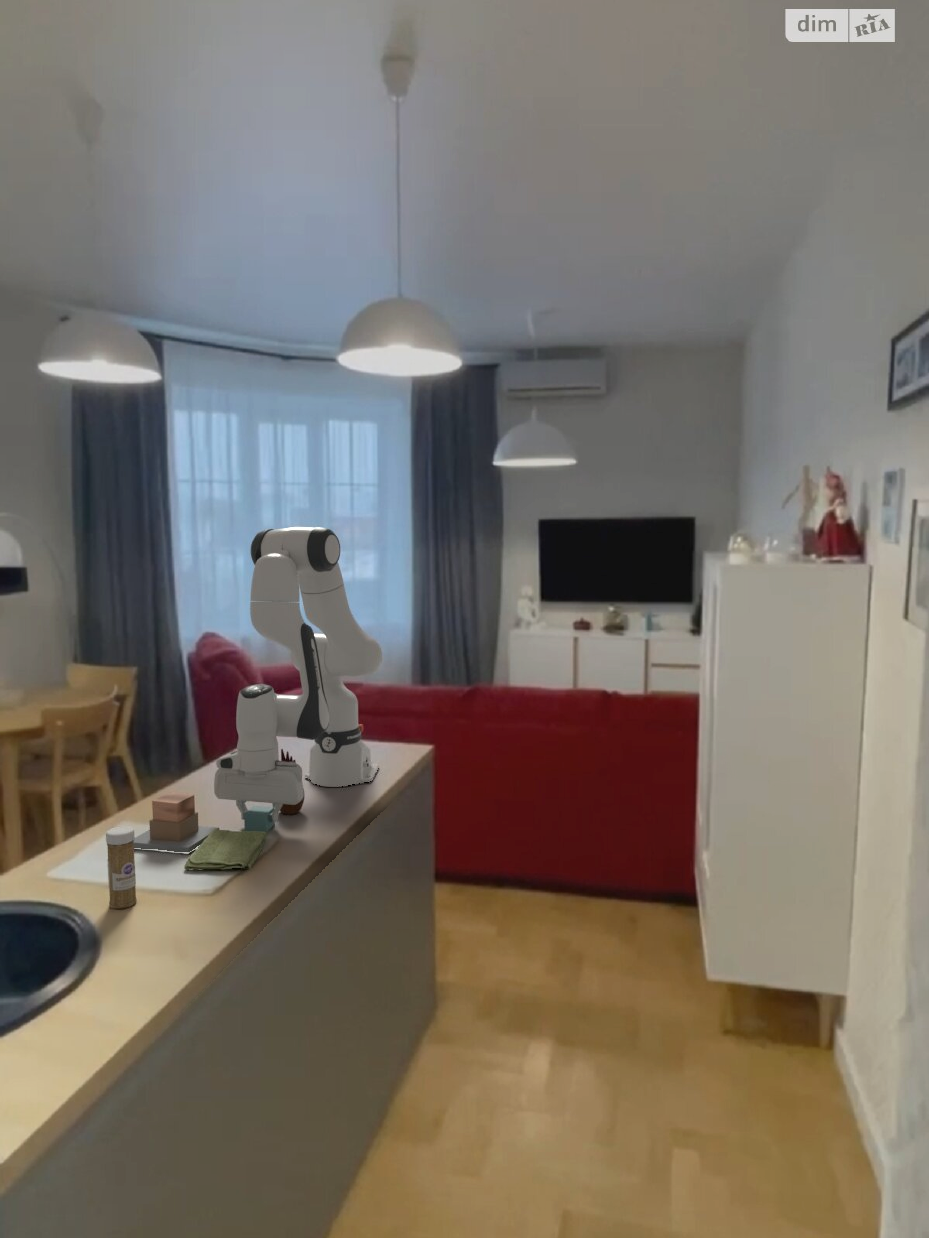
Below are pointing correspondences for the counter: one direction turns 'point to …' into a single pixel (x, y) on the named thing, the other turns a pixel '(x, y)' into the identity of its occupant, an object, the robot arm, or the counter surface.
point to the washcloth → (227, 850)
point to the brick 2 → (258, 819)
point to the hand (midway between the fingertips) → (259, 820)
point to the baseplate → (174, 845)
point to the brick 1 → (173, 807)
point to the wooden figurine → (286, 807)
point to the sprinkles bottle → (121, 867)
